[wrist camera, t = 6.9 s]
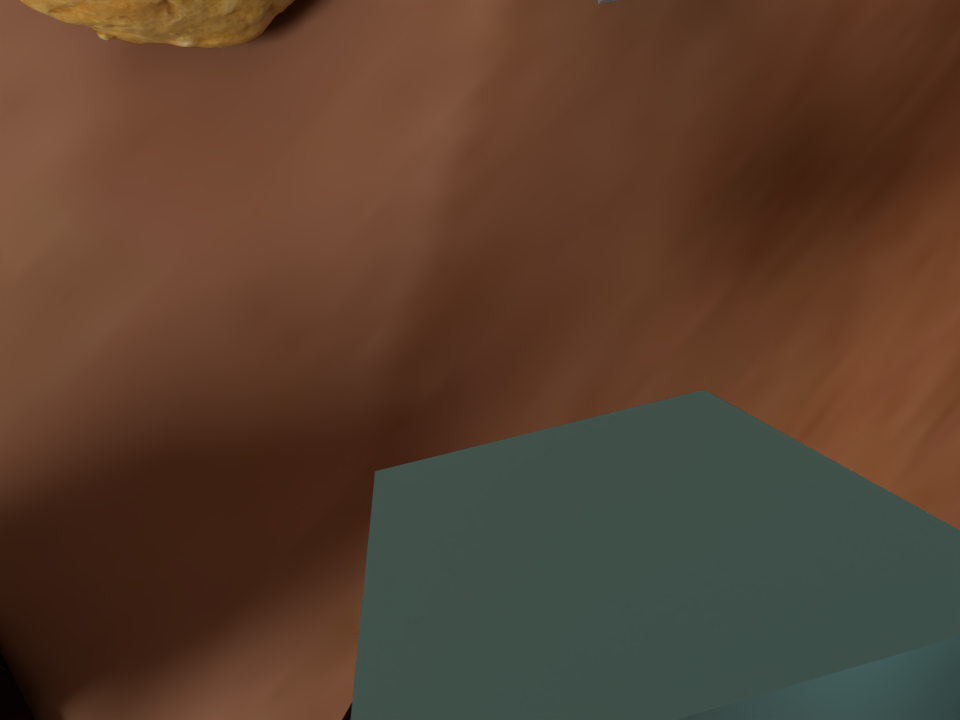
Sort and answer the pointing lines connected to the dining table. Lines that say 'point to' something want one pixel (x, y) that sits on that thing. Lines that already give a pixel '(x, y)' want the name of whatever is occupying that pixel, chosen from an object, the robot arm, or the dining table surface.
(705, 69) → the dining table surface
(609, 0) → the grey cube
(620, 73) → the dining table surface
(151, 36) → the bagel
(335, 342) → the dining table surface
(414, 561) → the teal block
